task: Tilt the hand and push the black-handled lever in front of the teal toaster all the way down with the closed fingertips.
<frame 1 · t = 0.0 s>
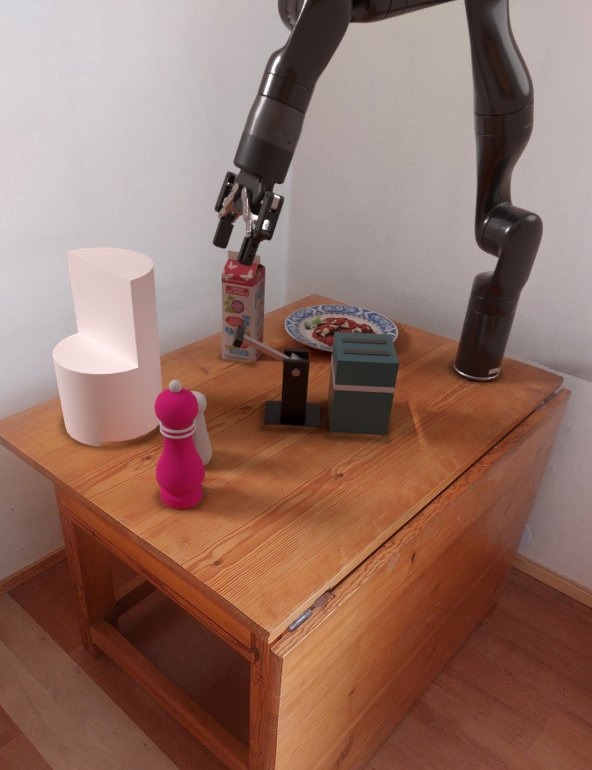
hand: (230, 255, 93), 31 cm above the table, tool tilted 20°, fingers open, 8 cm apart
toaster: (355, 421, 116), on the table
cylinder: (115, 420, 114), on the table
lever: (269, 351, 108), point 13 cm above the table, hinge at 26.0°
ceramic plate: (340, 336, 146), on the table
bracket: (292, 418, 116), on the table
juice carton: (242, 356, 136), on the table
pepper mill: (181, 497, 97), on the table
salt shaker: (194, 465, 104), on the table
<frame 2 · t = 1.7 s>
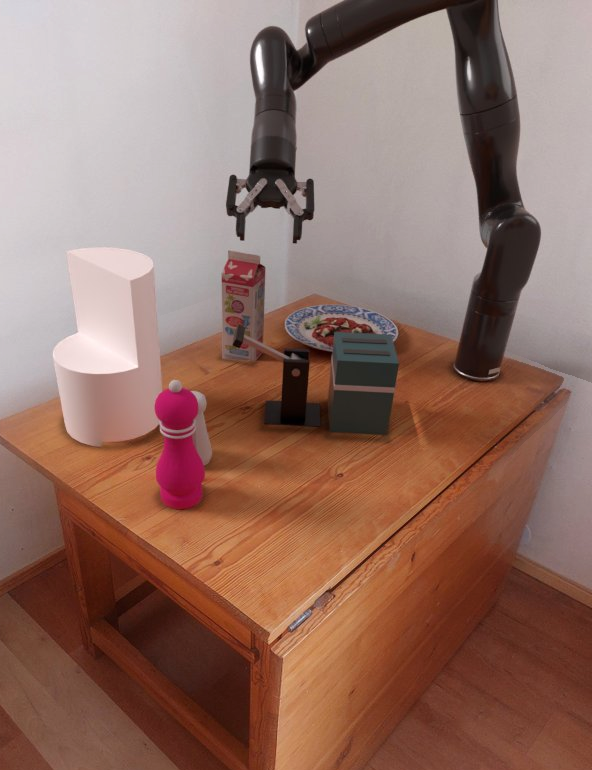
hand: (268, 239, 102), 31 cm above the table, tool tilted 45°, fingers open, 8 cm apart
nothing on the table moved.
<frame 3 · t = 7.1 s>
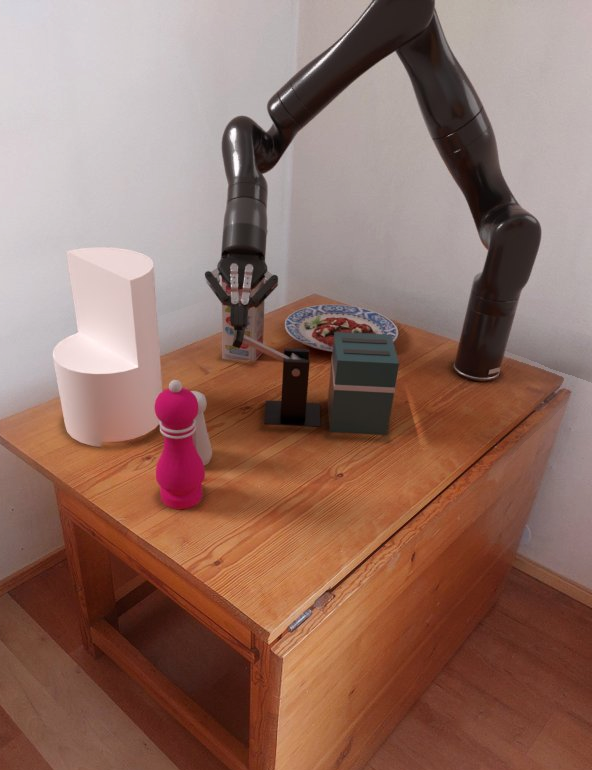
hand: (238, 328, 106), 17 cm above the table, tool tilted 45°, fingers closed
lever: (269, 351, 108), point 13 cm above the table, hinge at 25.7°, touching gripper
everything else where it was.
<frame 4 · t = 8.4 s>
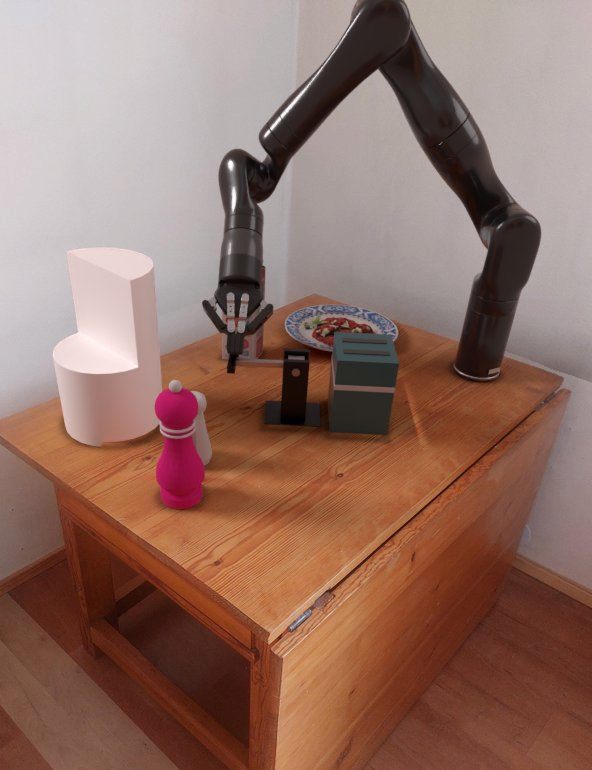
hand: (234, 356, 109), 12 cm above the table, tool tilted 45°, fingers closed
lever: (266, 363, 110), point 11 cm above the table, hinge at -0.6°, touching gripper
everything else where it was.
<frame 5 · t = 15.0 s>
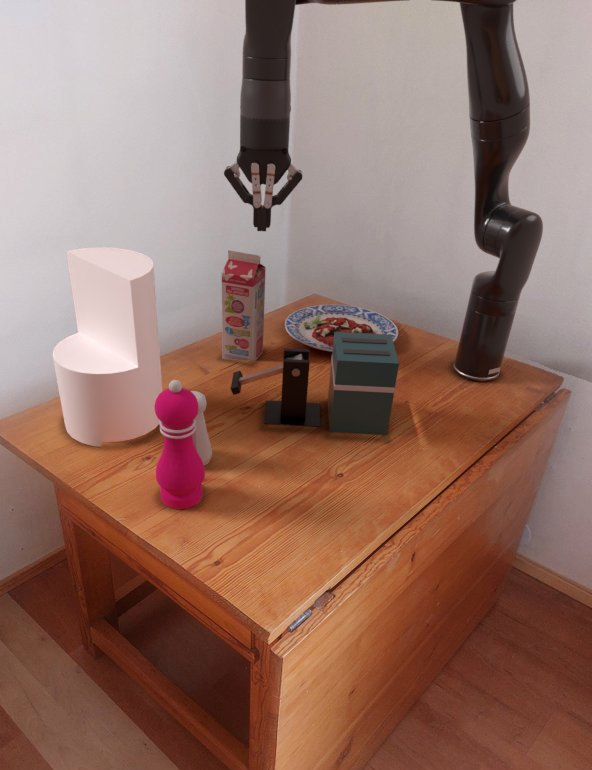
hand: (262, 229, 106), 31 cm above the table, tool pointing down, fingers closed
lever: (268, 373, 111), point 9 cm above the table, hinge at -21.9°
everything else where it was.
at the end: lever at -22° (first picture: +26°) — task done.
